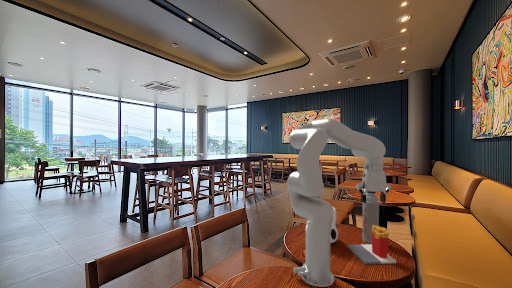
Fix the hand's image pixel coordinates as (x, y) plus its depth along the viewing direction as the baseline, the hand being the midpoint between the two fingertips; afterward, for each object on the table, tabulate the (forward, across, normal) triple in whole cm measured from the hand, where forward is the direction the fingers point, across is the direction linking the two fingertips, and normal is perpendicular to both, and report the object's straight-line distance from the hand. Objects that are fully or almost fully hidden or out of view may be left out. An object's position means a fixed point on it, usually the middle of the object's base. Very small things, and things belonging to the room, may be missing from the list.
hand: (373, 202), depth 104 cm
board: (+25, -2, -1) cm, 25 cm away
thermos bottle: (+25, +8, +14) cm, 30 cm away
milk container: (+26, -20, +16) cm, 36 cm away
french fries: (+24, +2, -3) cm, 25 cm away
